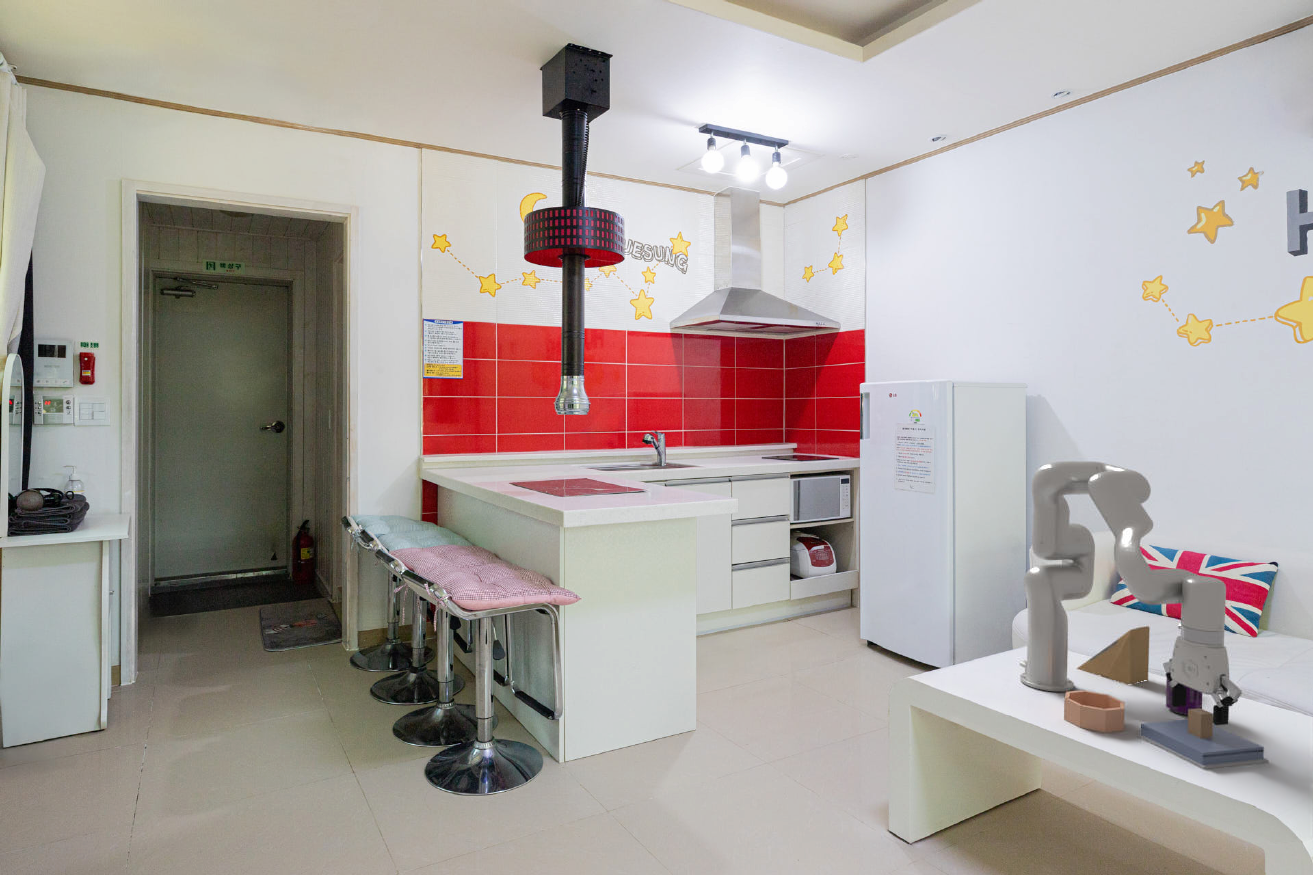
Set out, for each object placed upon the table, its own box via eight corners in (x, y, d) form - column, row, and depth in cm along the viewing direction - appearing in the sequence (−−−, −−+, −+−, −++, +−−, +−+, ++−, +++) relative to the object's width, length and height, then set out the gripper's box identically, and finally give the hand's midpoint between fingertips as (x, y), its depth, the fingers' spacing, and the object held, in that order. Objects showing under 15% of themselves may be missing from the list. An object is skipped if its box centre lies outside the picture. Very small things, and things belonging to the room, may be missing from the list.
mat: (1137, 736, 165) (1137, 733, 165) (1197, 730, 169) (1197, 728, 169) (1203, 769, 150) (1203, 766, 150) (1268, 762, 153) (1268, 759, 153)
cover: (1140, 734, 165) (1141, 700, 165) (1197, 729, 168) (1197, 696, 168) (1202, 765, 150) (1203, 728, 150) (1263, 758, 153) (1264, 722, 153)
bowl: (1053, 713, 178) (1053, 692, 178) (1096, 709, 181) (1096, 689, 180) (1091, 733, 167) (1092, 711, 166) (1137, 729, 169) (1137, 707, 169)
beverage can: (1208, 718, 176) (1209, 667, 175) (1174, 716, 177) (1175, 665, 177) (1192, 707, 183) (1193, 658, 182) (1160, 704, 184) (1161, 656, 184)
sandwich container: (1094, 664, 215) (1094, 612, 215) (1149, 681, 202) (1150, 625, 201) (1074, 668, 212) (1075, 616, 211) (1129, 685, 198) (1130, 629, 198)
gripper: (1152, 624, 167) (1149, 700, 167) (1226, 649, 150) (1222, 733, 150) (1180, 623, 168) (1177, 698, 169) (1256, 647, 151) (1253, 730, 152)
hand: (1199, 714), depth 159 cm, fingers open, 9 cm apart
